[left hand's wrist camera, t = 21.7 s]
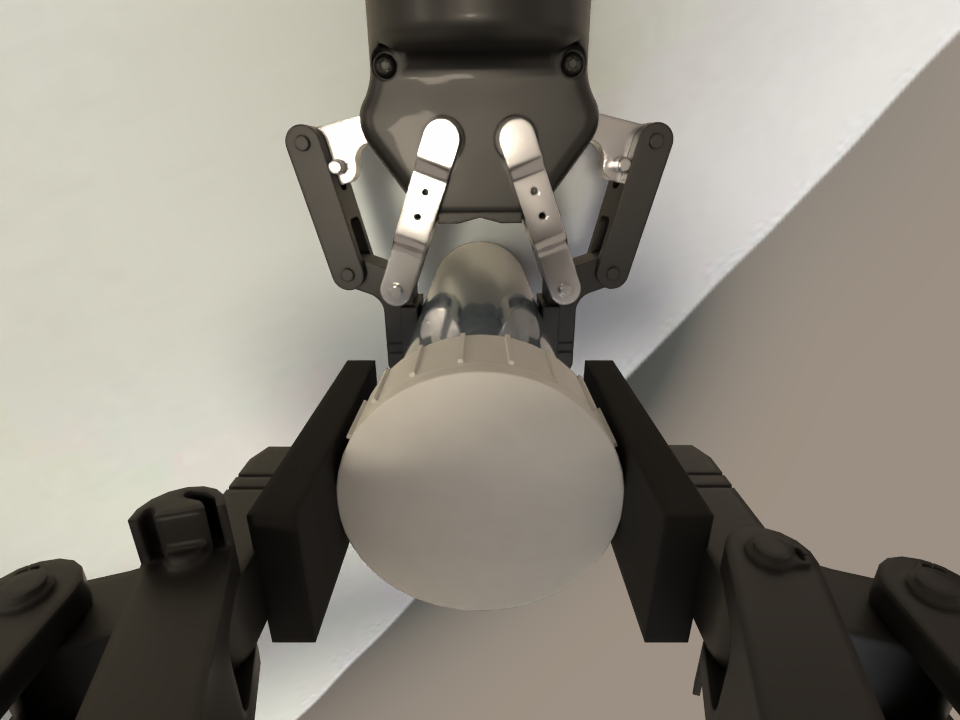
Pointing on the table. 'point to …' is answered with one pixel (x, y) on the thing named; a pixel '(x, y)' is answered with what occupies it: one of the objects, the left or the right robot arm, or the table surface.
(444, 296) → the bottle
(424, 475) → the lid
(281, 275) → the table surface
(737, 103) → the table surface
